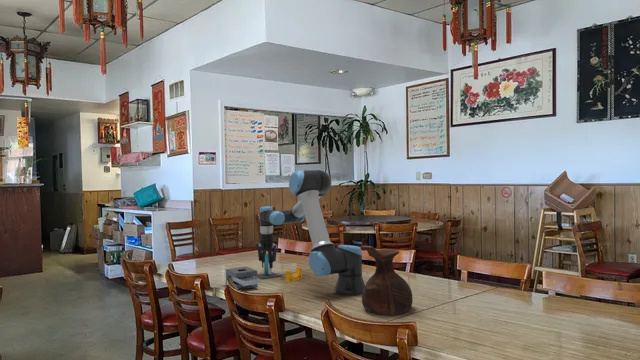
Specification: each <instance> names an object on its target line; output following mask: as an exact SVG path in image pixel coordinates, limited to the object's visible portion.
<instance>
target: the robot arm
mask: <svg viewBox="0 0 640 360" xmlns="http://www.w3.org/2000/svg"><path fill="white" fill-rule="evenodd" d="M331 187H332V179H331V176H330V175H329V174H328V172H326V171H324V170H321V169H312V170H311V169H308V170H307V169H305V170H303V169H301V170H294V171H293V172H292V173H291V175H290V176H289V180H288V189H289V191H290V193H291V194H293V195H295V196H296V199H297V203H296V204H295V205H294V206H293V207H292V208H291V209H285V210H274V209H273V206H267V205H266V206H261V207H260V208H259V233H260V235H259V237H260V238H259V239H260V242H259V243H257V244H256V245H255V246H256V248H257V255H258V256H257V257H258V261H259V262H261V267H262V271H263V273H262V274H265V254H268V257H269V263H268V274H271V273H272V272H273V271H272V269H273V267H274V262H277V251H278V250H277V249H278V247H279V246H278V244H275V241H274V233H273V232H274V225H275V226H280V225H283V224H294V223H295V224H296V223H297V224H298V223H302V222H304V221H305V222H306V226H307V229H308V232H309V233H308V234H309V236H310V241H311V244H312V248H311V249H310V252H311V253H309V255H308V265H309V268H310V270H311V271H312V273H314V275H316V276H318V277H323V276H326V277H327V276H330V275H335V274H338V277H337V281H336V284H335V287H334V293H335V295H339V296H343V297H344V296H345V297H352V296H355V297H356V296H362V294H363V290H364V287H365V285H366V283H365V281H364V278H363V252H362V251H363V250H361V246H358V245H351V244H349V245H348V244H338V246H337V248H336V246H335V244H334V243H333V242H332V241H331V240H330V237H329V233H328V230H327V226H326V225H327V224H326V221H325V219H324V216H323V215H324V214H323V211H322V209H321V205H320V201H319V200H320V199H321V198H322V197H325V196H326V195H327V194H328V193H329V192H330V189H331Z"/></svg>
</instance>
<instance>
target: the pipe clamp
mask: <svg viewBox="0 0 640 360" xmlns="http://www.w3.org/2000/svg"><path fill="white" fill-rule="evenodd" d="M284 275H285V276H284V281H285V283H288V284H289V283H294V282H296V281H299V279H300V280H302V279H303V267H300V266H297V267H296V269H295V272H293V273H292V270H289V269H288V270H287V269H286V270H285V271H284Z"/></svg>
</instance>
